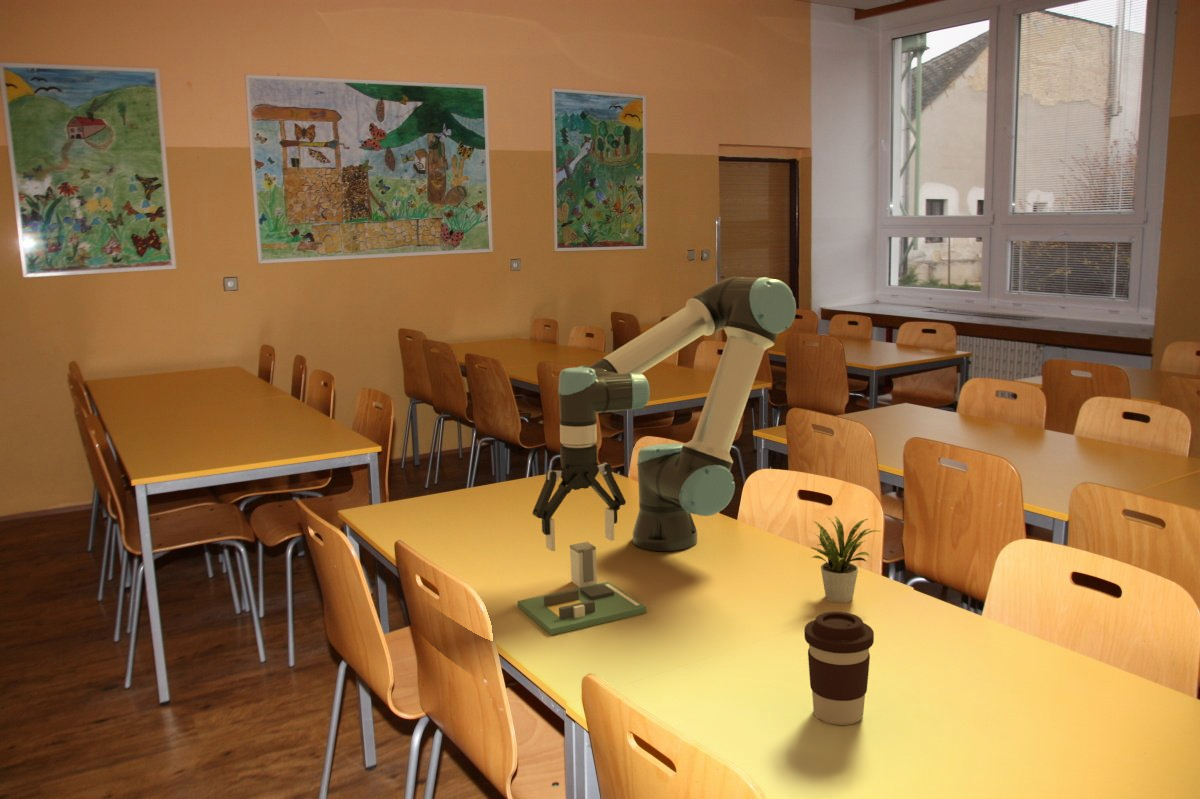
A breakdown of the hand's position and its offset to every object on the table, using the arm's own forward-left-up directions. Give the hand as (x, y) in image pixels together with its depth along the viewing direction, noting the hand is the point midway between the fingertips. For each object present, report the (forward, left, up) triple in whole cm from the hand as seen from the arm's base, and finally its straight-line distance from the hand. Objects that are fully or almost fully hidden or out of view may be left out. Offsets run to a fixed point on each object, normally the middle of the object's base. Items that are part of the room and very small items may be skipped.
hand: (580, 544), depth 202 cm
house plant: (-40, +35, -9) cm, 54 cm away
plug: (0, 0, -9) cm, 9 cm away
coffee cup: (-8, +70, -9) cm, 71 cm away
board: (+7, +13, -9) cm, 17 cm away
